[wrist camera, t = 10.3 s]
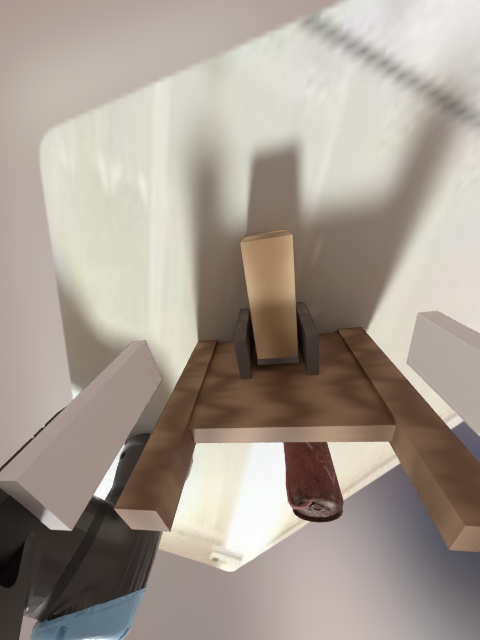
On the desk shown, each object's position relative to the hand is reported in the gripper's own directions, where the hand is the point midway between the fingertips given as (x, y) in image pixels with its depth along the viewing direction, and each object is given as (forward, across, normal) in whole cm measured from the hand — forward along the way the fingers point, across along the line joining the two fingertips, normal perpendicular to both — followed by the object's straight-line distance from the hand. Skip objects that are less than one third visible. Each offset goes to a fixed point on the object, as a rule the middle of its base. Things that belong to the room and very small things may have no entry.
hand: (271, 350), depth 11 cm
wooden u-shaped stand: (+17, 0, -8) cm, 19 cm away
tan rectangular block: (+17, 0, -2) cm, 17 cm away
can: (+17, +3, -24) cm, 30 cm away
